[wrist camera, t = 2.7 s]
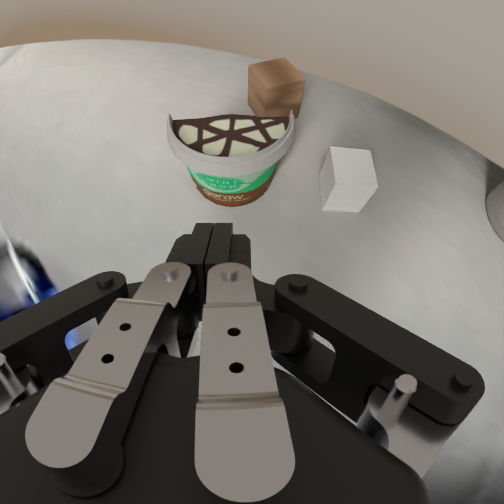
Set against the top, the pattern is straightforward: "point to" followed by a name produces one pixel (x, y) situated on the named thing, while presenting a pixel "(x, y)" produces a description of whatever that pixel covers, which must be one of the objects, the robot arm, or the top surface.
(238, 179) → the food container
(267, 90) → the walnut block
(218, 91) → the top surface
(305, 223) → the top surface
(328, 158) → the grey plastic block
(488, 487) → the top surface
